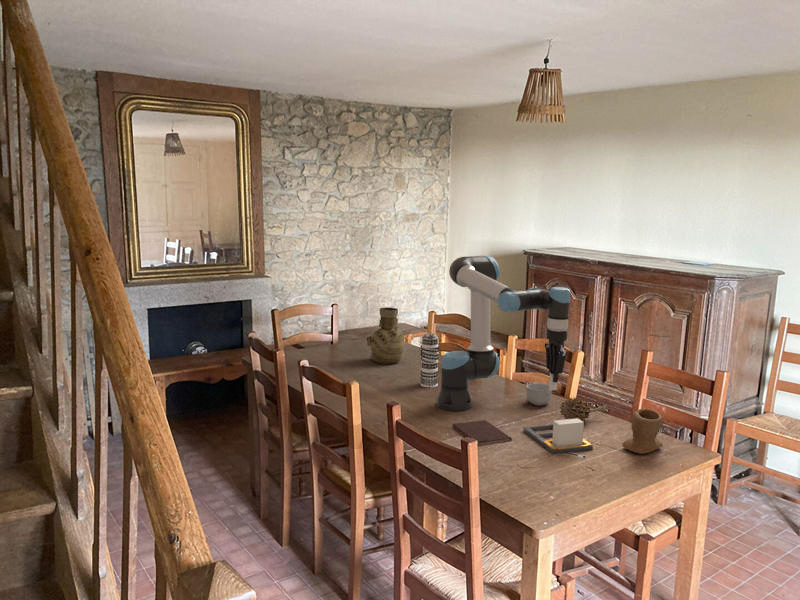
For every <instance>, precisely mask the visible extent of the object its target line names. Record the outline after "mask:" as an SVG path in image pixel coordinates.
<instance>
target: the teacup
mask: <svg viewBox="0 0 800 600" xmlns="http://www.w3.org/2000/svg"><path fill="white" fill-rule="evenodd" d="M525 388H526V399H527V401H528V402H529V403H530V404H532V405H534V406H545V405H547V404H548V403H549V402H551V399H552V390H549V383H543V382H538V381H534V382H532V383H528V384H527V385H526V387H525Z"/></svg>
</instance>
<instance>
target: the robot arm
mask: <svg viewBox="0 0 800 600" xmlns="http://www.w3.org/2000/svg"><path fill="white" fill-rule="evenodd" d="M498 263H499V262H498V261H496V259H495V258H494V257H493V256H491V255H473V256H470V255H469V256H460V257H458V258H456V259H455V260H453V261H452V263H451V264H450V266H449V271H448V272H449V278H450V279H451V280H452V282H453V283H454V284H456V285H457V286H459V287H462V288H468V289H469V290H470V345H469V346H468V347H467V348H466V349H467V351H466V350H451V351H449V352H446V353H445V354H444V355H443V356H442V359H441V365H440V366H441V377H440V378H441V380H440V381H441V386H440V387H441V388H440V391H439V394H438V396H437V399H436V406H437V407H438V408H440V409H442V410H445V411H450V410H451V412H452V411H453V412H459V411H460V412H461V411H467V410H470V409H471V408H472V405H473V404H472V403H473V401H472V398H471V394H470V390H469V382H470V381H474V380H479V379H488V378H490V377H491V378H492V377H493V376H495V375H496V374H497V372H498V371H499V368H500V357H499V354H498V353H497V352H496V351H495V350H494V349H495V347H493V346H492V345H491V301H493V302H495V303H496V304H497V306H498V308H500V311H502V312H504V313H514V312H522V311H531V310H543V311H547V324H546V327H547V329H546V339H547V340H548V342H546V343H544V347H545V360H546V361H545V363H546V369H547V370H548V372H549V380H548V381H549V382H548V385H549V390H551V391H557V390H558V381H559V375H560V374H561V375H562V374H563V371H564V367H565V363H566V358H567V355H568V353H569V352H568V351H567V350H565V349H564V348H565V344H564V343H565V341H568V334H569V333H568V329H569V322H570V321H569V318H570V317H569V316H570V315H569V314H570V305H571V290H570V289H569V288H567V287H561V286H553V287H550V288H549V290H547V289H542V288H540V287H530V288H528V289H525V290H524V289H523V290H516V289H513V288H511V287H509V286H507V285H505V284H504V283H502V282H500V281H497V280H498V279H499V277H500V274H501V273H500V267H499V264H498Z"/></svg>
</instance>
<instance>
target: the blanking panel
mask: <svg viewBox="0 0 800 600" xmlns="http://www.w3.org/2000/svg"><path fill="white" fill-rule="evenodd" d="M552 423H553V429H552V432H553V437H551V440H552V445H554V446H555V447H556V448H561V447H570V446H578V445H582V443H583V439H584V428H585V427H584V424H585V422H584V420H583V421H581V420H580V419H578V418H577V419H569V418H567V419H566V418H565V419H558V420H553V422H552Z"/></svg>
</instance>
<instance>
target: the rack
mask: <svg viewBox="0 0 800 600" xmlns="http://www.w3.org/2000/svg"><path fill="white" fill-rule="evenodd" d="M522 430H523V432H524V433H526V434H527V435H528V436H529V437H531V438H532V440H534V441H536V442H537V443H538V444H539V445H541V446H542V447H543V448H545V449H546V450H547V451H548V452H550V453H551V454H552V455H557V454H558V453H559V454H567V453H575V452H576V453H577V452H583V451H592V450H594V449H593V448H594V445H593V444H592V443H590V442H589V441H587V440H586V439H585V438H583V443H582V445H578V446H570V447H561V448H556V447H555V446H554V445H552V439H547V440H546V438H553V431H551V432H550V431H549V432H543V433H540V432H539V433H537V432H536V431H543V430H544V431H545V430H553V424H543V425H534V426H523V429H522Z"/></svg>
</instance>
